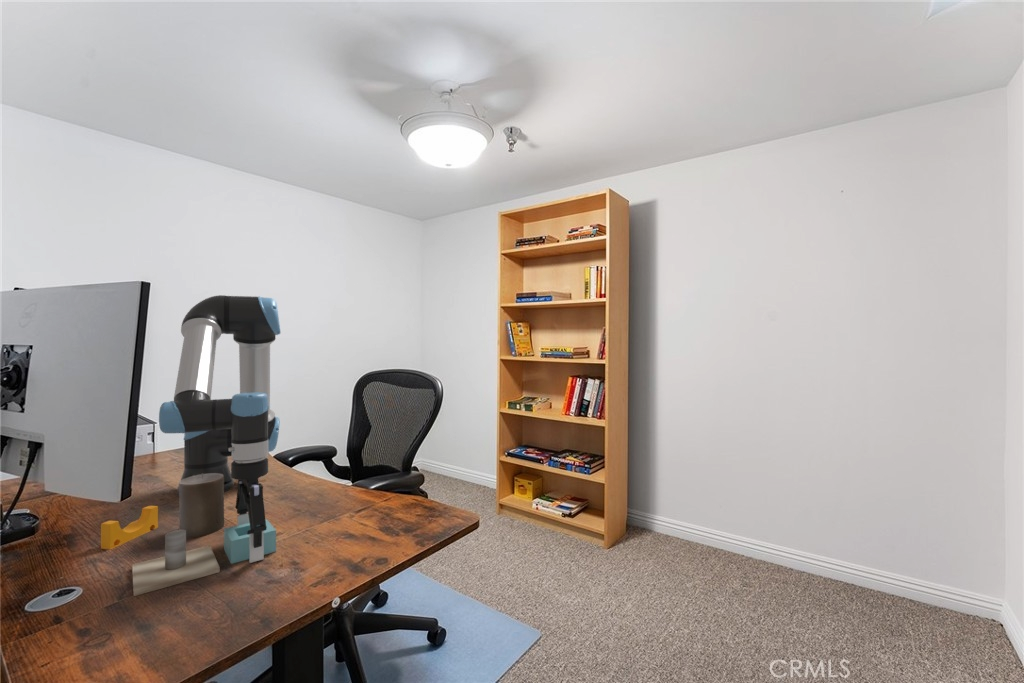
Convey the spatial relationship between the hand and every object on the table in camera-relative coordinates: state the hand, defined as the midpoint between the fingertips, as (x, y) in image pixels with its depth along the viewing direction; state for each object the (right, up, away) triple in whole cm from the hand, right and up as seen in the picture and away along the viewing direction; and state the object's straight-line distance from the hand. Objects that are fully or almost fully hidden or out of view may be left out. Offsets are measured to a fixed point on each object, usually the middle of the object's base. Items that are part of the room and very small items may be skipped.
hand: (249, 550), depth 105 cm
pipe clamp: (-34, -1, +6) cm, 35 cm away
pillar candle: (-19, 0, +11) cm, 22 cm away
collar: (0, 0, 0) cm, 0 cm away
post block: (-11, 0, -9) cm, 14 cm away
